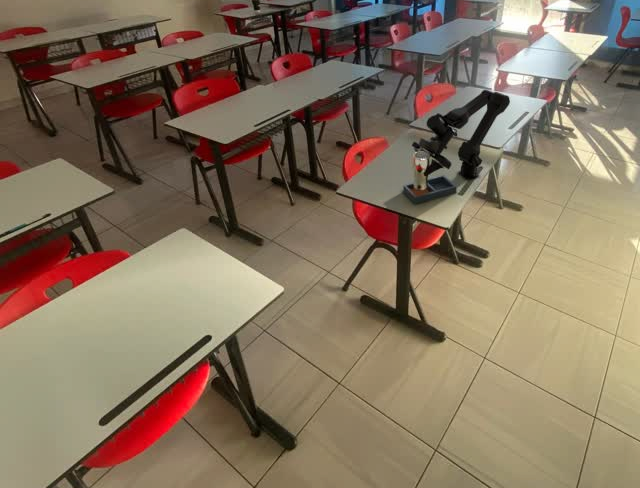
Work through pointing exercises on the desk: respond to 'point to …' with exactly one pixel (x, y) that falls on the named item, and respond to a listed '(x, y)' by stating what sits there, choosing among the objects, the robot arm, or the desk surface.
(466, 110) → the robot arm
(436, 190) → the divided tray
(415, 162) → the beer glass
